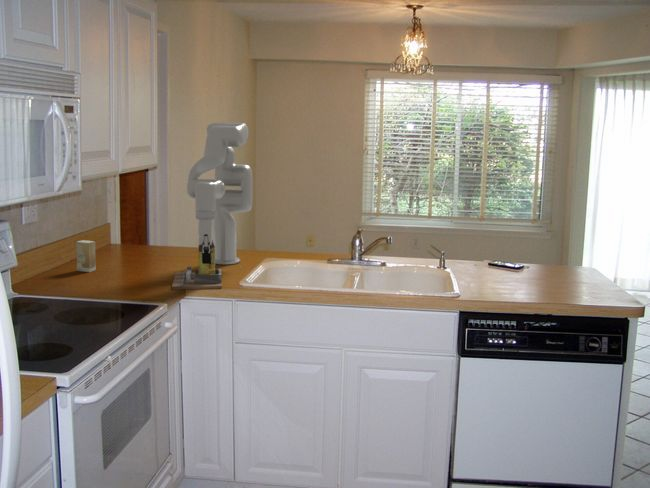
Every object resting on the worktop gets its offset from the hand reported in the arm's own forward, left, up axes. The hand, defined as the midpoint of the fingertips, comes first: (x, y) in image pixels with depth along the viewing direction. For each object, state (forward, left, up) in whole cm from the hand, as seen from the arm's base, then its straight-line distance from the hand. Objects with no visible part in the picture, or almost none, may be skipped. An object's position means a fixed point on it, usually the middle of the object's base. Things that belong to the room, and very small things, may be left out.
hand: (206, 261), depth 259 cm
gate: (0, -7, -7) cm, 10 cm away
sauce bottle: (0, 0, -7) cm, 7 cm away
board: (-2, -4, -8) cm, 9 cm away
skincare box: (-25, -49, -8) cm, 55 cm away
